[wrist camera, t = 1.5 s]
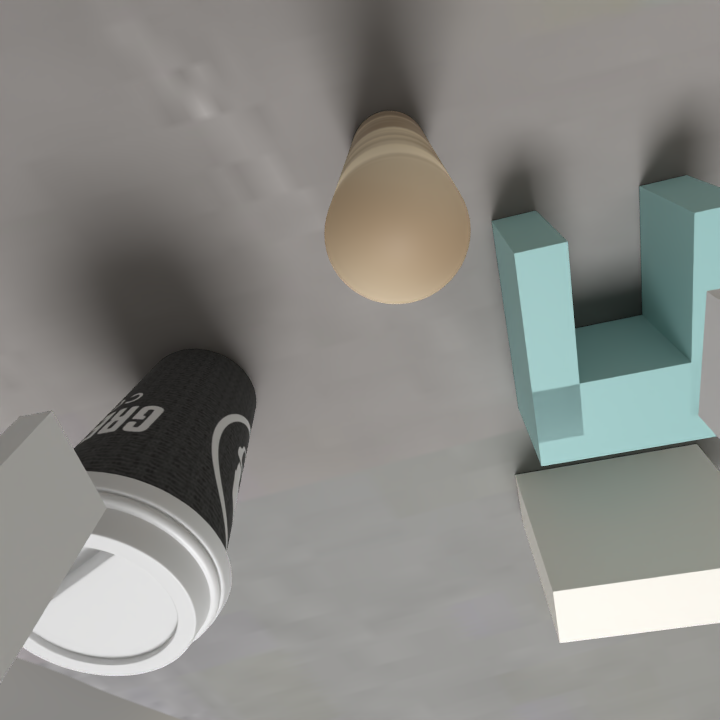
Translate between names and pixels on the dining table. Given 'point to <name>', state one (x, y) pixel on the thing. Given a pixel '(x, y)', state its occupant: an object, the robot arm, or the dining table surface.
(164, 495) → the coffee cup
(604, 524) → the wall
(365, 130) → the dowel
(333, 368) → the dining table surface
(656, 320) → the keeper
